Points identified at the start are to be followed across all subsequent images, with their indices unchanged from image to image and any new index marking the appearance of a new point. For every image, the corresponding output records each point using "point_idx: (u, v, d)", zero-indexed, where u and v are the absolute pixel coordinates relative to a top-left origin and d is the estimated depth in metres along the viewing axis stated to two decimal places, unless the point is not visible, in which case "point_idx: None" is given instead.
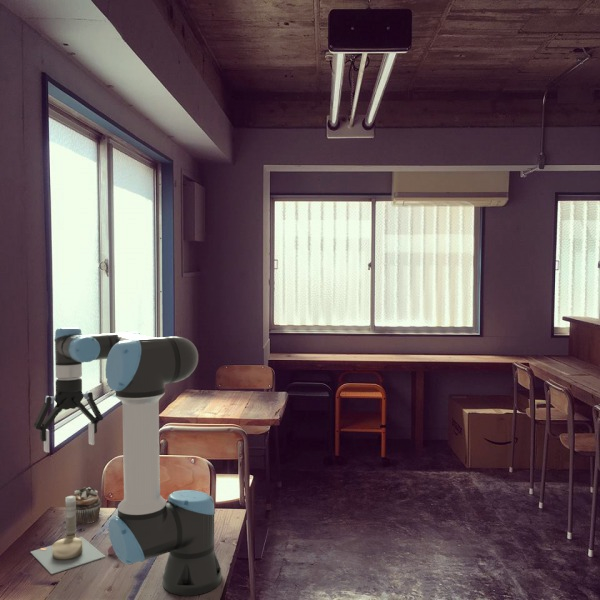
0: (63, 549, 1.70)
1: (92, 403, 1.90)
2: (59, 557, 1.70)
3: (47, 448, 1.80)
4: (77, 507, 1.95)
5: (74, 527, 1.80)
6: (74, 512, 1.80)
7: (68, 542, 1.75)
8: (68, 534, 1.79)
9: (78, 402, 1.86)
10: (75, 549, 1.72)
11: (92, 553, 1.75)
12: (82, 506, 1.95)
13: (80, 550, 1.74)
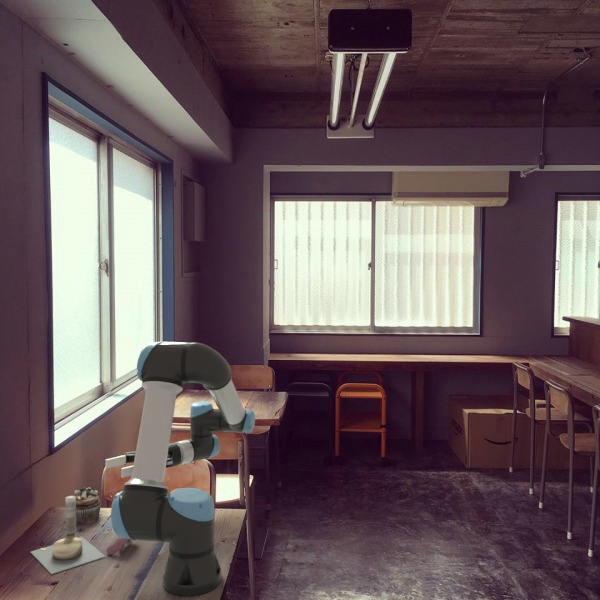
0: (63, 549, 1.70)
1: None
2: (59, 557, 1.70)
3: None
4: (77, 507, 1.95)
5: (74, 527, 1.80)
6: (74, 512, 1.80)
7: (68, 542, 1.75)
8: (68, 534, 1.79)
9: None
10: (75, 549, 1.72)
11: (92, 553, 1.75)
12: (82, 506, 1.95)
13: (80, 550, 1.74)
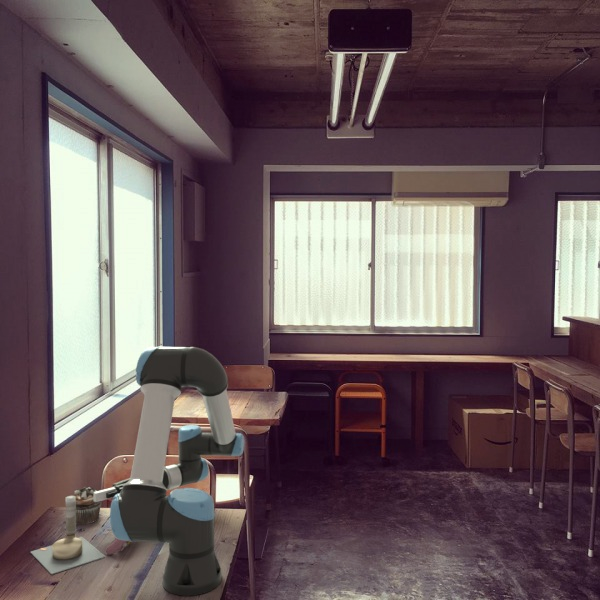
0: (63, 549, 1.70)
1: None
2: (59, 557, 1.70)
3: (97, 491, 1.87)
4: (77, 507, 1.95)
5: (74, 527, 1.80)
6: (74, 512, 1.80)
7: (68, 542, 1.75)
8: (68, 534, 1.79)
9: None
10: (75, 549, 1.72)
11: (92, 553, 1.75)
12: (82, 506, 1.95)
13: (80, 550, 1.74)
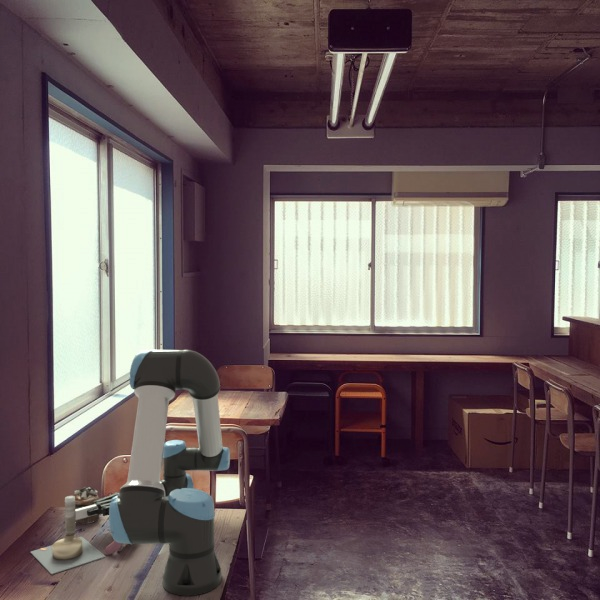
0: (63, 549, 1.70)
1: None
2: (59, 557, 1.70)
3: None
4: (77, 507, 1.95)
5: (74, 527, 1.80)
6: (74, 512, 1.80)
7: (68, 542, 1.75)
8: (68, 534, 1.79)
9: None
10: (76, 549, 1.72)
11: (92, 553, 1.75)
12: (82, 506, 1.95)
13: (80, 550, 1.74)
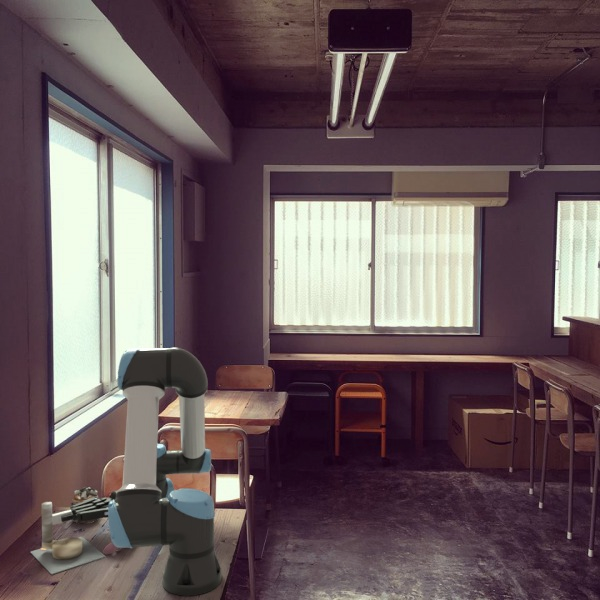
0: (78, 545, 1.73)
1: (99, 509, 1.83)
2: (75, 554, 1.72)
3: (52, 514, 1.79)
4: None
5: None
6: None
7: (65, 543, 1.75)
8: (50, 541, 1.75)
9: (103, 502, 1.86)
10: None
11: (92, 553, 1.75)
12: None
13: None
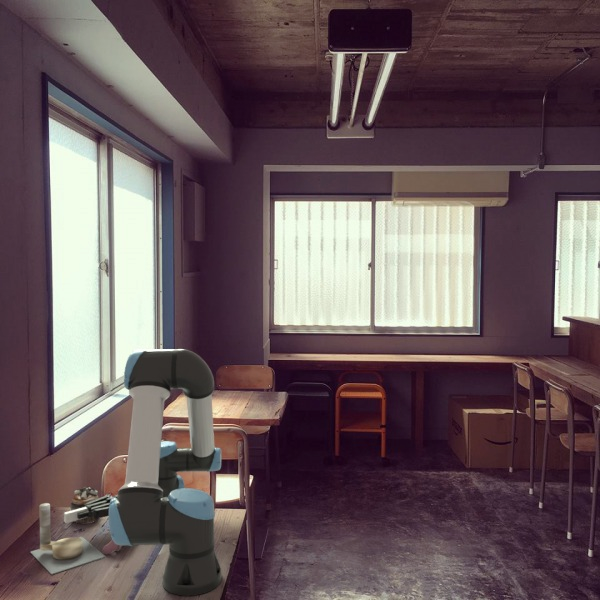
0: (79, 544, 1.74)
1: None
2: (77, 553, 1.73)
3: (68, 511, 1.80)
4: (77, 507, 1.95)
5: None
6: None
7: (65, 543, 1.74)
8: (48, 542, 1.74)
9: None
10: None
11: (92, 553, 1.75)
12: (82, 506, 1.95)
13: None
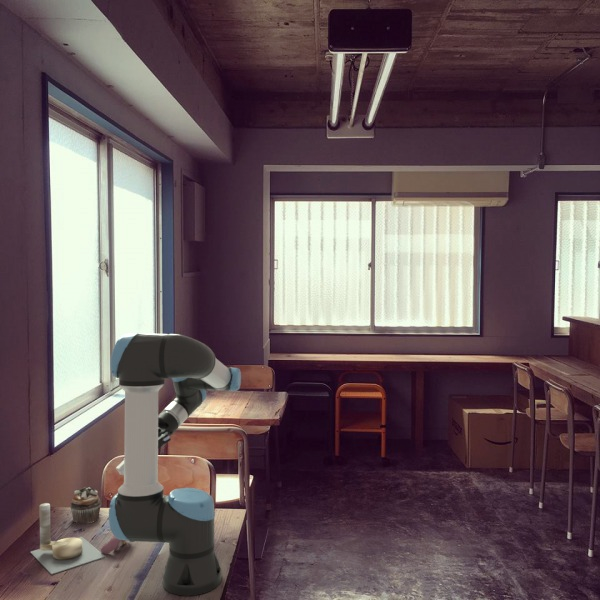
0: (79, 544, 1.74)
1: None
2: (77, 553, 1.73)
3: (118, 465, 1.82)
4: (77, 507, 1.95)
5: None
6: None
7: (65, 543, 1.74)
8: (48, 542, 1.74)
9: None
10: None
11: (92, 553, 1.75)
12: (82, 506, 1.95)
13: None
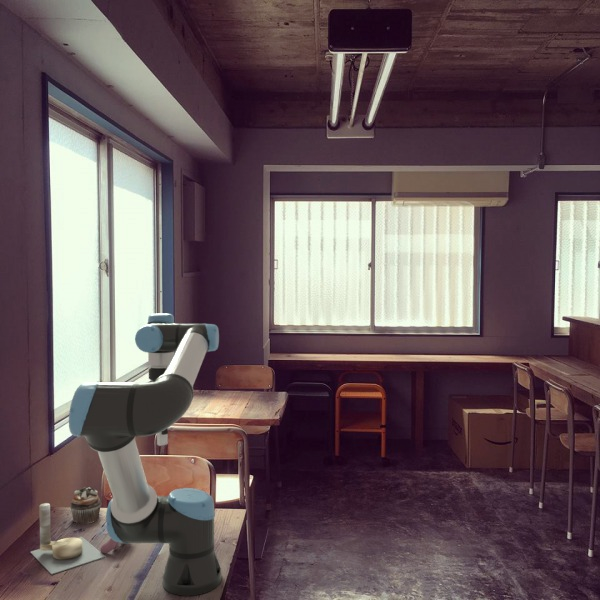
0: (79, 544, 1.74)
1: None
2: (77, 553, 1.73)
3: (157, 440, 1.81)
4: (77, 507, 1.95)
5: None
6: None
7: (65, 543, 1.74)
8: (48, 542, 1.74)
9: None
10: None
11: (92, 553, 1.75)
12: (82, 506, 1.95)
13: None
